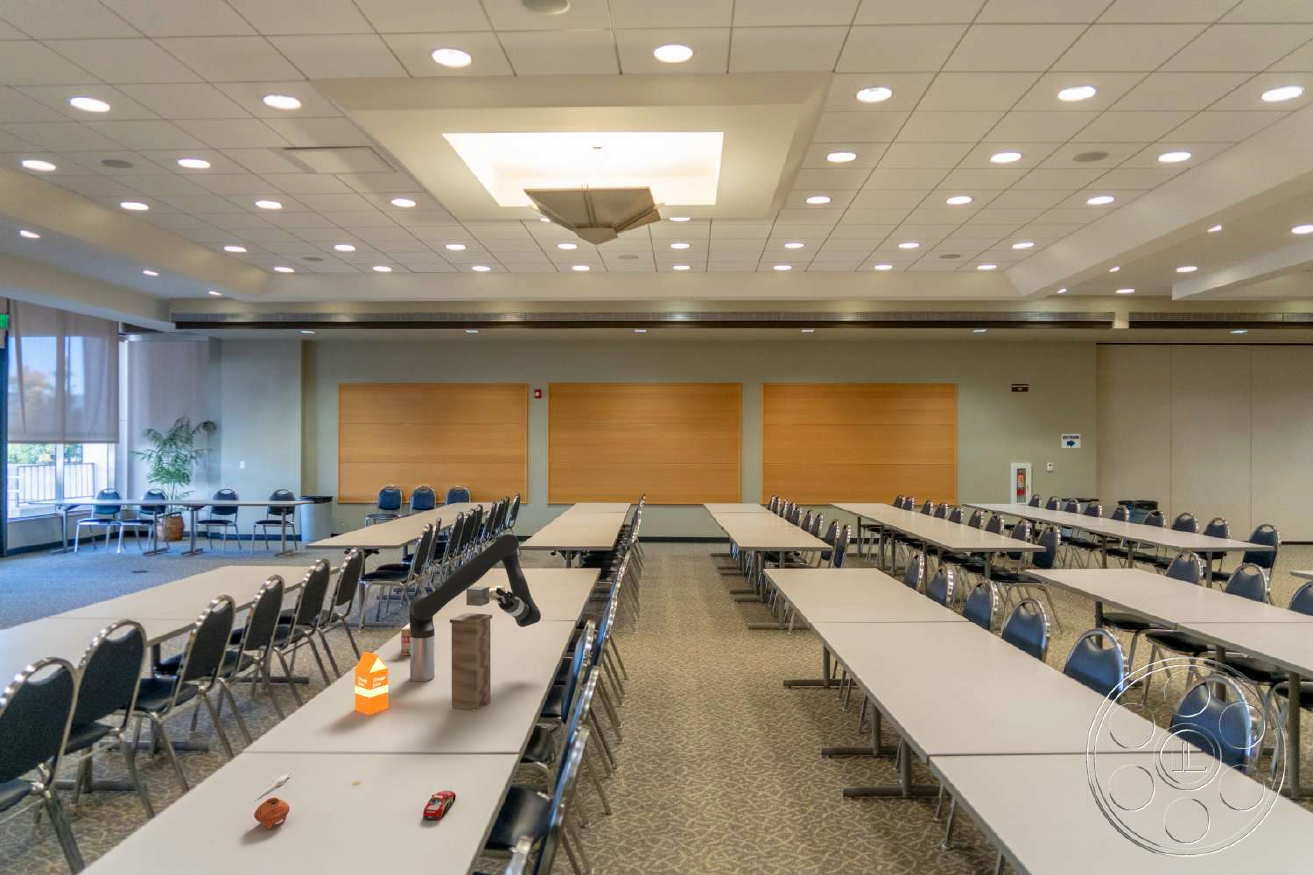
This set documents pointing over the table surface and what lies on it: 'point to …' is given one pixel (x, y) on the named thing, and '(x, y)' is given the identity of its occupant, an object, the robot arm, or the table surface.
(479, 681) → the pedestal
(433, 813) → the race car
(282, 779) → the white tapered stick
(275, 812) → the pot
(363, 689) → the orange juice
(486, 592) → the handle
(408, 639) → the red printed box
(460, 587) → the robot arm
